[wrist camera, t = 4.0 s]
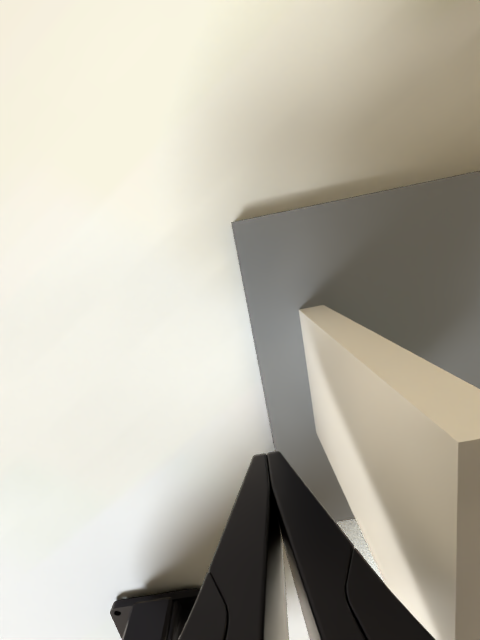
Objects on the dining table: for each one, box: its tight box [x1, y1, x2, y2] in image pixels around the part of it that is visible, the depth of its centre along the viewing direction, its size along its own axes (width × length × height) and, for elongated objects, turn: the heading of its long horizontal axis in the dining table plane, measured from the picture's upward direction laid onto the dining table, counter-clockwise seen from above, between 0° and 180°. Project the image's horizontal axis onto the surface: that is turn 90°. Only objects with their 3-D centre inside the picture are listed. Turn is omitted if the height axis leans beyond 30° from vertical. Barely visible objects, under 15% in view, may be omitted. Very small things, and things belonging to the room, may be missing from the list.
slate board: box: [231, 171, 480, 522], centre depth 13 cm, size 18×16×1 cm
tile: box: [299, 305, 480, 640], centre depth 9 cm, size 7×1×9 cm, turn 11°
